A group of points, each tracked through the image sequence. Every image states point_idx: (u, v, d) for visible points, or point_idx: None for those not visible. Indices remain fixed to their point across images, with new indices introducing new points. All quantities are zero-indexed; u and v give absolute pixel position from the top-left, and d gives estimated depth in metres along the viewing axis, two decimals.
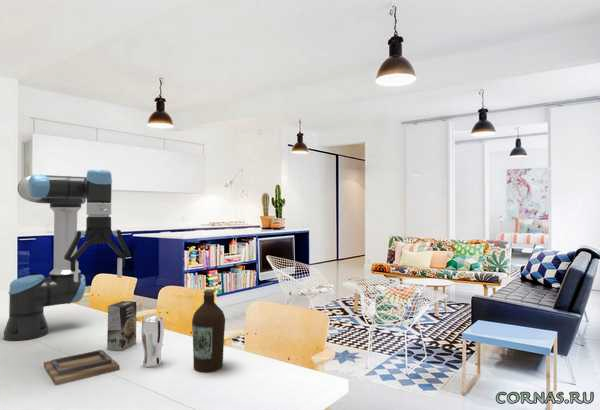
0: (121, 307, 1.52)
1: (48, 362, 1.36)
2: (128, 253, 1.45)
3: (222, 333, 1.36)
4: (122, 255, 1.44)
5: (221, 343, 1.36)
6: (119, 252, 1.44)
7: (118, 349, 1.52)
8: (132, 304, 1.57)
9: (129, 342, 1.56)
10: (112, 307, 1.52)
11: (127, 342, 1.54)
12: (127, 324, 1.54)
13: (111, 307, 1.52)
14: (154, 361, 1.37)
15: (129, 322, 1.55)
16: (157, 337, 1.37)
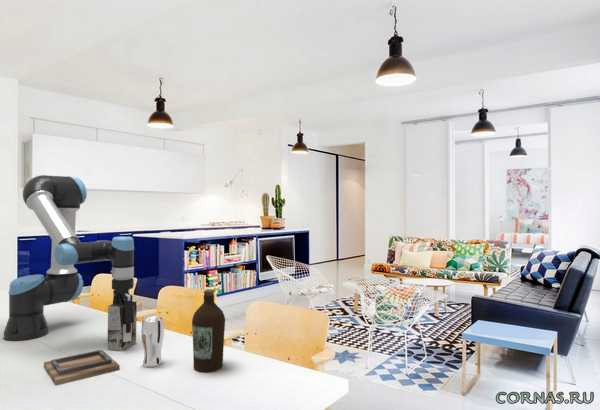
0: (121, 307, 1.52)
1: (48, 362, 1.36)
2: (126, 320, 1.50)
3: (222, 333, 1.36)
4: (124, 321, 1.51)
5: (221, 343, 1.36)
6: None
7: (118, 349, 1.52)
8: None
9: (129, 342, 1.56)
10: (112, 307, 1.52)
11: (127, 342, 1.54)
12: None
13: (111, 307, 1.52)
14: (154, 361, 1.37)
15: None
16: (157, 337, 1.37)
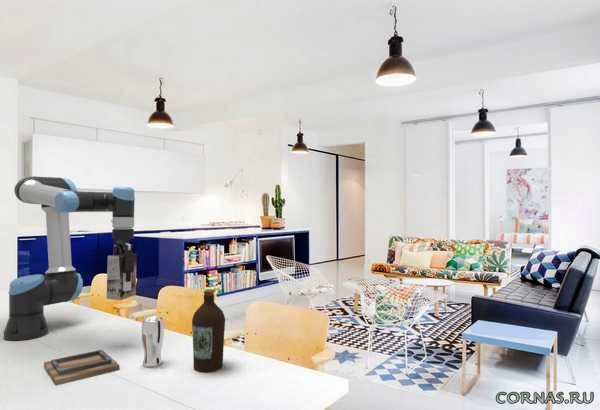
0: (120, 257, 1.51)
1: (48, 362, 1.36)
2: (126, 269, 1.50)
3: (222, 333, 1.36)
4: (124, 269, 1.51)
5: (221, 343, 1.36)
6: None
7: (117, 298, 1.52)
8: None
9: (129, 293, 1.56)
10: (112, 257, 1.52)
11: (126, 292, 1.54)
12: None
13: (111, 257, 1.52)
14: (154, 361, 1.37)
15: None
16: (157, 337, 1.37)
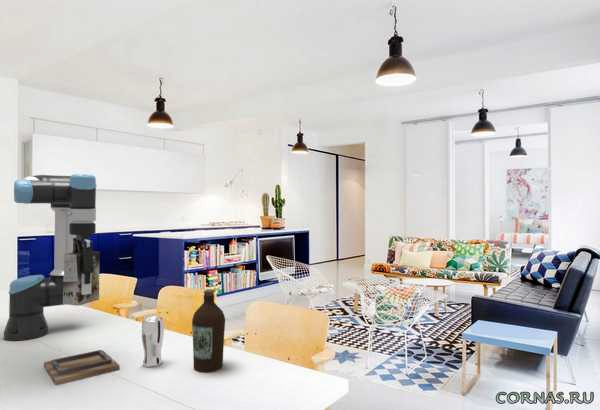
0: (78, 255, 1.30)
1: (48, 362, 1.36)
2: (84, 269, 1.29)
3: (222, 333, 1.36)
4: (83, 270, 1.30)
5: (221, 343, 1.36)
6: (82, 265, 1.31)
7: (75, 304, 1.30)
8: (93, 254, 1.36)
9: (90, 297, 1.35)
10: (68, 255, 1.31)
11: (86, 296, 1.33)
12: None
13: (67, 255, 1.31)
14: (154, 361, 1.37)
15: None
16: (157, 337, 1.37)
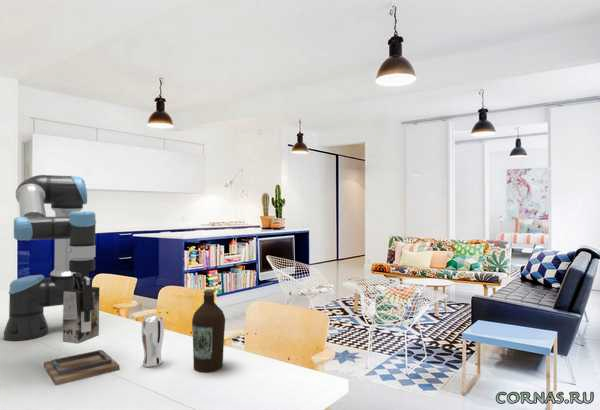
0: (78, 293, 1.30)
1: (48, 362, 1.36)
2: (84, 307, 1.29)
3: (222, 333, 1.36)
4: (82, 308, 1.30)
5: (221, 343, 1.36)
6: None
7: (74, 342, 1.30)
8: (93, 290, 1.36)
9: (89, 334, 1.35)
10: (68, 293, 1.31)
11: (86, 333, 1.33)
12: None
13: (67, 293, 1.31)
14: (154, 361, 1.37)
15: None
16: (157, 337, 1.37)
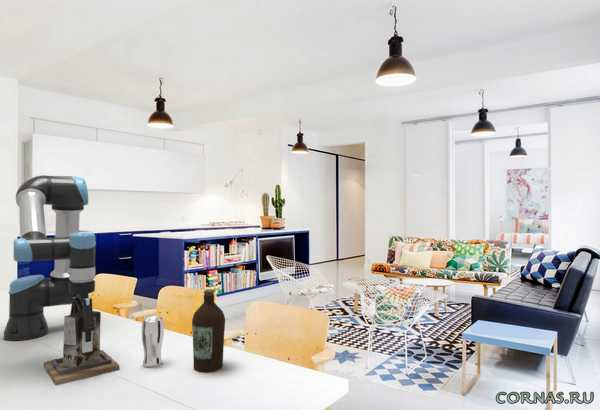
0: (77, 319, 1.31)
1: (48, 362, 1.36)
2: (85, 328, 1.28)
3: (222, 333, 1.36)
4: (83, 328, 1.29)
5: (221, 343, 1.36)
6: None
7: None
8: (93, 315, 1.36)
9: (89, 359, 1.35)
10: (68, 318, 1.32)
11: (85, 359, 1.33)
12: None
13: (67, 318, 1.32)
14: (154, 361, 1.37)
15: None
16: (157, 337, 1.37)
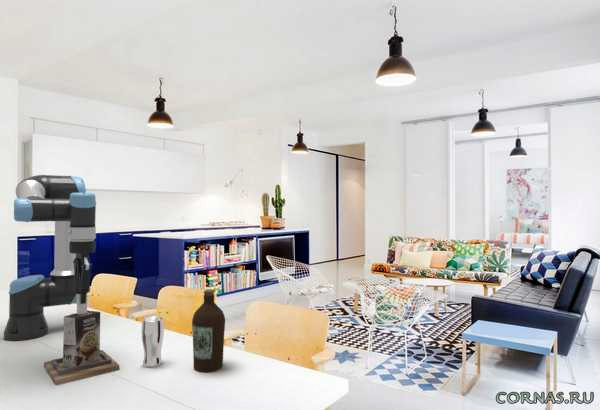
0: (76, 319, 1.31)
1: (48, 362, 1.36)
2: (80, 289, 1.32)
3: (222, 333, 1.36)
4: (79, 290, 1.34)
5: (221, 343, 1.36)
6: (78, 285, 1.34)
7: None
8: (93, 315, 1.36)
9: (89, 359, 1.35)
10: (68, 318, 1.32)
11: (85, 359, 1.33)
12: (85, 339, 1.33)
13: (67, 318, 1.32)
14: (154, 361, 1.37)
15: (88, 335, 1.34)
16: (157, 337, 1.37)
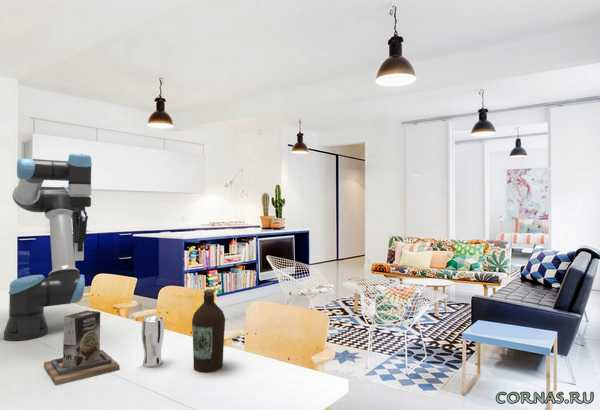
0: (76, 319, 1.31)
1: (48, 362, 1.36)
2: (77, 238, 1.51)
3: (222, 333, 1.36)
4: (76, 239, 1.52)
5: (221, 343, 1.36)
6: (76, 235, 1.52)
7: None
8: (93, 315, 1.36)
9: (89, 359, 1.35)
10: (68, 318, 1.32)
11: (85, 359, 1.33)
12: (85, 339, 1.33)
13: (67, 318, 1.32)
14: (154, 361, 1.37)
15: (88, 335, 1.34)
16: (157, 337, 1.37)
